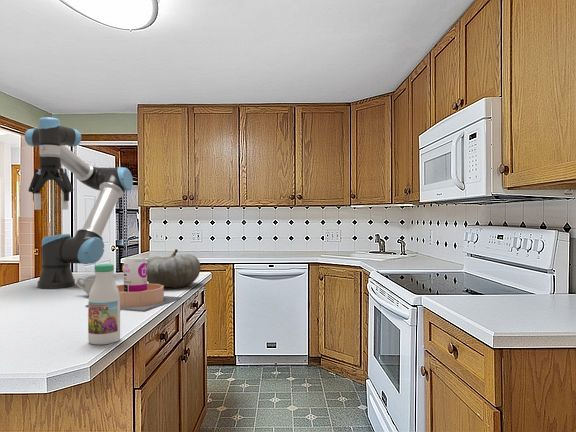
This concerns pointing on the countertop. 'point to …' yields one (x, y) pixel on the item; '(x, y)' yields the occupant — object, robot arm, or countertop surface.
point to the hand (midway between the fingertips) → (51, 209)
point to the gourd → (173, 270)
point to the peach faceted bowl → (144, 298)
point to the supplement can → (135, 274)
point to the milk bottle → (104, 307)
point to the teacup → (86, 283)
